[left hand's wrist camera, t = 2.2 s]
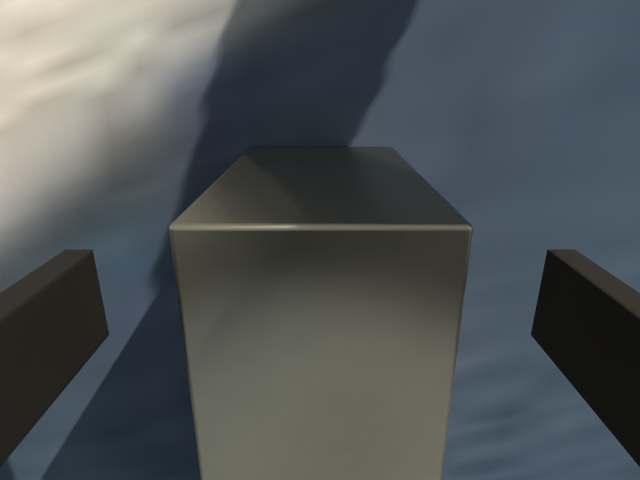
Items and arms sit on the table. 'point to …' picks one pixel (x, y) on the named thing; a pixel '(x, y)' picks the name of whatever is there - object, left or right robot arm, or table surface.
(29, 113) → the table surface
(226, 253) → the bar
